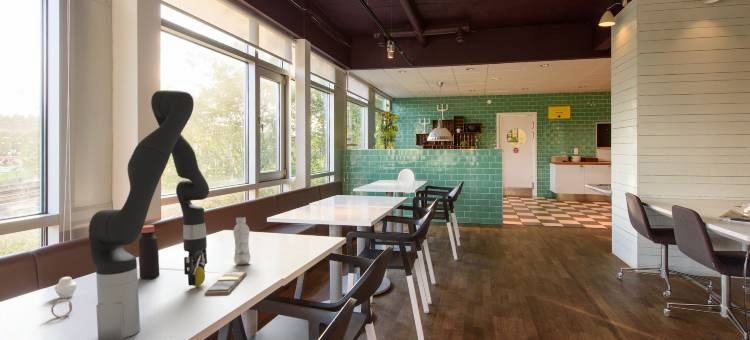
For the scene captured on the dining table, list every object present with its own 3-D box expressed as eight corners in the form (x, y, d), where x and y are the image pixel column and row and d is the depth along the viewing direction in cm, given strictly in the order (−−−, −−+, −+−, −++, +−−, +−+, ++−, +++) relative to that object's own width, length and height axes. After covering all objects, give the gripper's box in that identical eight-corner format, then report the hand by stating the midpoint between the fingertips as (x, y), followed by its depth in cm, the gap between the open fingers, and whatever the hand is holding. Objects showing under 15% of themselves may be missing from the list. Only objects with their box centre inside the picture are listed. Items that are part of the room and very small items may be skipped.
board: (228, 294, 140) (228, 290, 140) (204, 295, 140) (204, 291, 139) (246, 275, 162) (246, 271, 162) (225, 275, 162) (225, 271, 161)
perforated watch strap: (72, 315, 125) (71, 298, 125) (53, 320, 122) (52, 303, 121) (70, 313, 127) (69, 296, 127) (51, 317, 123) (49, 301, 123)
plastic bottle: (233, 263, 179) (231, 217, 178) (249, 261, 182) (247, 216, 181) (235, 267, 173) (233, 219, 172) (251, 265, 176) (250, 218, 175)
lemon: (199, 290, 145) (198, 267, 145) (185, 289, 146) (184, 267, 146) (208, 285, 150) (207, 263, 150) (195, 284, 152) (193, 262, 151)
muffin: (51, 300, 138) (50, 280, 138) (60, 294, 144) (58, 274, 144) (73, 298, 140) (71, 278, 139) (80, 292, 146) (79, 273, 145)
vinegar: (135, 279, 160) (132, 227, 159) (149, 274, 167) (146, 224, 166) (150, 280, 158) (147, 228, 157) (163, 274, 165) (161, 224, 164)
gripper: (197, 240, 140) (199, 287, 141) (212, 232, 155) (214, 275, 155) (175, 241, 140) (177, 288, 141) (192, 232, 154) (194, 275, 155)
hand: (196, 281), depth 148 cm, fingers open, 8 cm apart
